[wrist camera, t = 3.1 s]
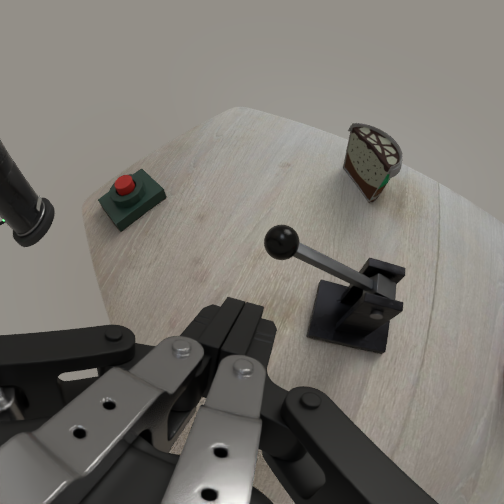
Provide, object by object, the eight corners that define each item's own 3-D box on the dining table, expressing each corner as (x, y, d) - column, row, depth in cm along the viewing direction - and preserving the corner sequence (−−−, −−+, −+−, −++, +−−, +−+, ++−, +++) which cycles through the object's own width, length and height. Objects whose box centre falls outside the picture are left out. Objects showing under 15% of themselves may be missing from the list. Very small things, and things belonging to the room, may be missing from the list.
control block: (120, 232, 43) (111, 217, 40) (102, 207, 46) (93, 193, 43) (166, 197, 47) (161, 181, 43) (144, 176, 50) (138, 161, 46)
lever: (254, 256, 26) (267, 242, 23) (264, 228, 27) (277, 212, 25) (377, 312, 28) (397, 304, 26) (380, 286, 30) (399, 277, 27)
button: (122, 198, 42) (119, 191, 41) (115, 189, 43) (111, 182, 42) (138, 187, 43) (135, 180, 42) (129, 179, 44) (126, 172, 43)
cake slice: (397, 202, 47) (418, 164, 38) (373, 209, 46) (393, 168, 37) (363, 157, 52) (376, 119, 44) (339, 162, 51) (350, 121, 43)
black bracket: (306, 336, 35) (329, 307, 25) (319, 282, 39) (341, 237, 29) (381, 353, 33) (427, 331, 23) (388, 301, 37) (429, 263, 27)
